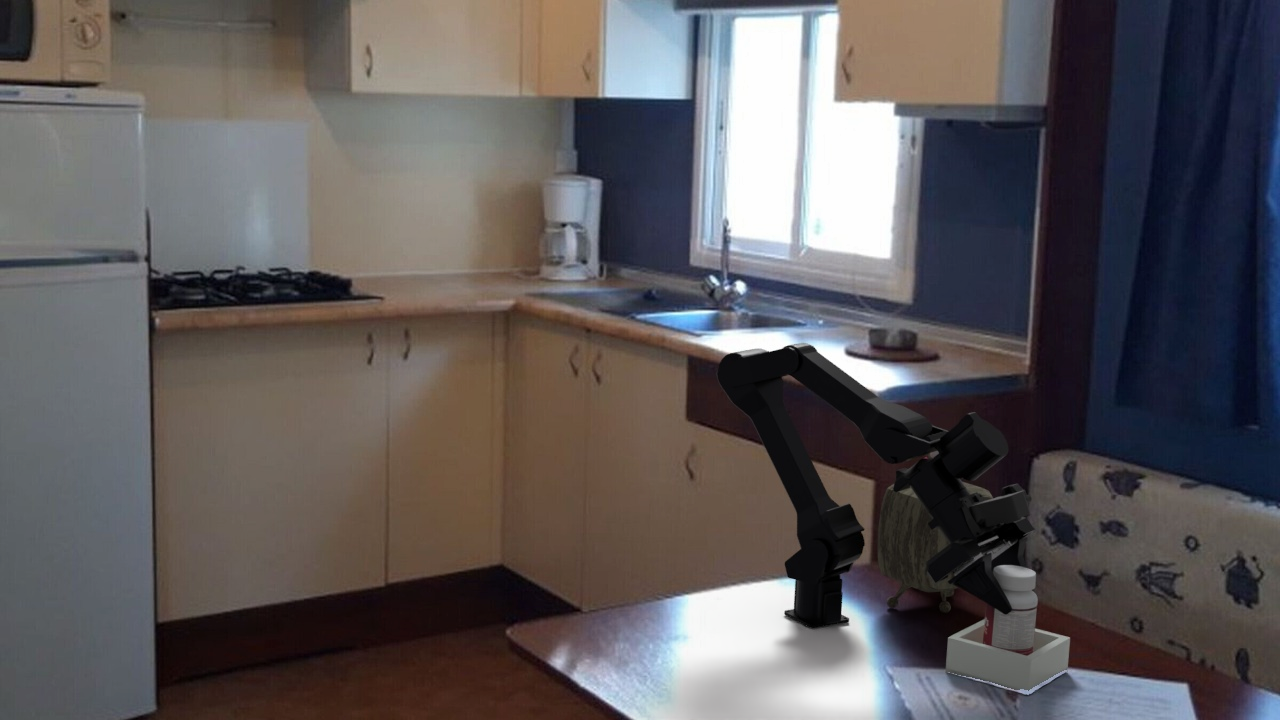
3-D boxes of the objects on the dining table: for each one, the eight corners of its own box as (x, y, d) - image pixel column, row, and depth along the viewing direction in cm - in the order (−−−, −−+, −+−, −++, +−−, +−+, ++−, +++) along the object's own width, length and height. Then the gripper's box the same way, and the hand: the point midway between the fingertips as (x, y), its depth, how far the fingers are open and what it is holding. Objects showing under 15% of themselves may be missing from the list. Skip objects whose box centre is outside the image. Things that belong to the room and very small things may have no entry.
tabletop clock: (948, 591, 225) (961, 421, 221) (995, 610, 218) (1009, 434, 213) (873, 606, 217) (884, 430, 213) (918, 626, 210) (931, 444, 205)
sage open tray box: (945, 672, 193) (948, 637, 192) (986, 650, 201) (989, 616, 201) (1028, 696, 186) (1031, 660, 185) (1067, 672, 195) (1070, 637, 194)
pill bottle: (984, 647, 197) (991, 560, 195) (1034, 654, 195) (1042, 567, 194) (978, 663, 192) (985, 574, 190) (1030, 671, 190) (1037, 581, 188)
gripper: (957, 478, 185) (1035, 589, 180) (1026, 453, 199) (1101, 556, 194) (893, 528, 191) (967, 637, 186) (965, 501, 205) (1036, 602, 200)
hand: (1021, 606), depth 192 cm, fingers closed on pill bottle, 6 cm apart
